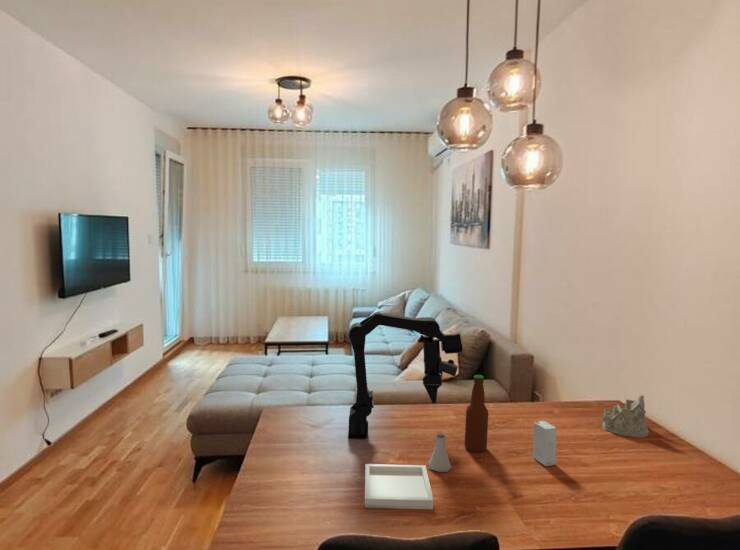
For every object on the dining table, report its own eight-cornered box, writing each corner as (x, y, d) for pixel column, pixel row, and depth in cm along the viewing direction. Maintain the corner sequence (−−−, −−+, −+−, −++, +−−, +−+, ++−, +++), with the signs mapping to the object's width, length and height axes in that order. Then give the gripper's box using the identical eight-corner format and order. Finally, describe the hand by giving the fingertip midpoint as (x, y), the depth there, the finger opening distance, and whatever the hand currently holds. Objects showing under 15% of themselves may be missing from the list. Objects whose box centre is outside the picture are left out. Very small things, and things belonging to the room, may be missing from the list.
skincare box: (556, 464, 147) (558, 427, 146) (544, 466, 146) (546, 429, 145) (542, 455, 153) (544, 420, 152) (531, 457, 152) (533, 421, 150)
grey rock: (649, 424, 179) (650, 387, 178) (648, 442, 166) (648, 401, 164) (604, 417, 188) (604, 381, 186) (599, 434, 174) (599, 395, 173)
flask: (453, 463, 147) (454, 433, 146) (449, 475, 140) (450, 443, 139) (430, 459, 149) (431, 429, 148) (425, 470, 142) (426, 438, 141)
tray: (364, 507, 122) (364, 498, 122) (365, 471, 140) (365, 463, 140) (433, 509, 123) (433, 500, 122) (425, 473, 140) (425, 465, 140)
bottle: (490, 448, 158) (494, 376, 155) (479, 455, 152) (483, 381, 150) (471, 440, 163) (474, 371, 160) (460, 447, 157) (463, 375, 155)
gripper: (456, 358, 151) (458, 406, 151) (455, 349, 170) (457, 392, 169) (421, 359, 153) (424, 407, 153) (424, 350, 171) (426, 393, 171)
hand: (434, 399), depth 161 cm, fingers open, 9 cm apart
